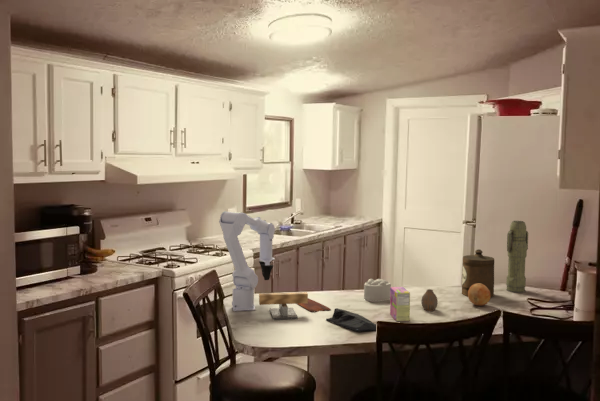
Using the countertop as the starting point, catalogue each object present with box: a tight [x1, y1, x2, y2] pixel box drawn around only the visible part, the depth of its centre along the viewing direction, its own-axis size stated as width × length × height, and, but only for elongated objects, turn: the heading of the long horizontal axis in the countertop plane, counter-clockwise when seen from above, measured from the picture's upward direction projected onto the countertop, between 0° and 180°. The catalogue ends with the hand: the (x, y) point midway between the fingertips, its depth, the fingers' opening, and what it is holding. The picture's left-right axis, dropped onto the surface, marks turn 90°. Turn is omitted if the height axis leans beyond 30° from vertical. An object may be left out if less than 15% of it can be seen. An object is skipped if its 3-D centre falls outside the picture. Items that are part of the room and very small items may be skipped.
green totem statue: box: [505, 220, 529, 294], centre depth 276 cm, size 9×12×35 cm
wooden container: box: [461, 249, 495, 298], centre depth 268 cm, size 15×15×22 cm
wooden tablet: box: [297, 297, 332, 313], centre depth 249 cm, size 27×10×2 cm, turn 25°
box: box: [389, 286, 411, 322], centre depth 228 cm, size 10×6×12 cm, turn 5°
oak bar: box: [258, 291, 309, 306], centre depth 230 cm, size 20×3×4 cm, turn 99°
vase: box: [421, 288, 439, 312], centre depth 241 cm, size 7×7×9 cm
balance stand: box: [269, 304, 299, 321], centre depth 231 cm, size 10×14×5 cm
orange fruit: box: [467, 283, 491, 307], centre depth 248 cm, size 10×10×10 cm
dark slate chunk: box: [326, 308, 377, 332], centre depth 219 cm, size 15×22×5 cm
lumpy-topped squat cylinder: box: [363, 278, 392, 302], centre depth 259 cm, size 10×13×9 cm
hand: (265, 278), depth 253 cm, fingers open, 7 cm apart
